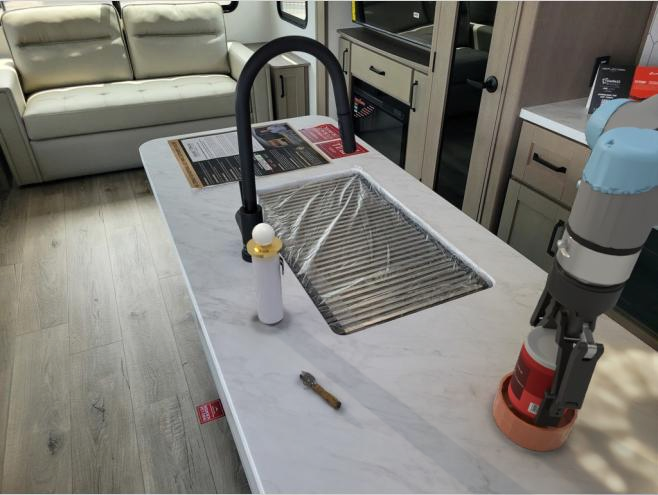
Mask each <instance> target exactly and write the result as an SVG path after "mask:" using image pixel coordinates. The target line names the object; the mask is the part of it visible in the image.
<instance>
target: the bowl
mask: <svg viewBox="0 0 658 495" xmlns="http://www.w3.org/2000/svg"><path fill="white" fill-rule="evenodd" d="M513 372H514V370H512V371H510V372H509V373H507V374H505V375H504V376H503V378H502V379H501V380H500V381H499V384H498V388H497V390H496V394H495V397H494V399H493V400H494V401H493V405H492V414H493V420H494V422H495V424H496V425H497V427H498V428H499V430H500V431H501V433H503V435H505V437H507V438H508V439H509V440H511V441H512V442H513V443H515V444H517V445H519V446H520V447H523V448H525V449H528V450H532V451H537V452H548V451H553V450H556V449H558V448H560V447H561V446H563V444H565V442H566V441H567V438H568V437H569V435H570V433H571V431H572V429H573V427H574V425H575V423H576V422H577V419H578V416H579V414H578V413H579V410H577V409H567V411H566V413H565V414H564V415H563V416H562V417H561V418H560V421H559V423H558V425H557V427H549V426H540V425H535V422H534V420H531V419H529V418H527V417H525V416H523V415H522V414H520V413H519V412H518V411H517V410H516V409H515V408H514V407H513V405H512V404H511V402H510V399H509V394H508V387H509V384H510V381H511V378H512V375H513Z"/></svg>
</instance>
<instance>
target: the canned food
mask: <svg viewBox="0 0 658 495" xmlns="http://www.w3.org/2000/svg"><path fill="white" fill-rule="evenodd" d="M556 332H557V329H547V328H542V326H538V327H535V328H534V327H533V328H531V329H530V330H529V331H528V332H527V334H526V336H525V337H524V340H523V343H522V346H521V348H520V351H519V355H518V356H517V357H518V358H517V360H516V363H515V366H514V369H513V371H514V372H513V371H512V372H513V375H512V378H511V381H510V384H509V387H508V394H509V399H510V402H511V404H512V405H513V407H514V408H515V409H516V410H517V411H518V412H519V413H520V414H522V415H523V416H525V417H527V418H529V419H531V420H534V419H535V416H536V414H537V411H538V409H539V407H540V404H541V402H542V399H543V397H544V395H545V393H544V392H545V391H546V390H547V388H548V389H551V387H552V382H553V376H554V372H555V369H556V365H555V364H556V358H557V352H558V345H557V343H556V342H555V338H556ZM564 339H573V340H580V338H579V339H574V338H566V337H564ZM567 409H568V408H566V409H565V412H564V414H565V413H566V411H567ZM564 414H563V415H564Z"/></svg>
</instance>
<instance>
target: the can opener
mask: <svg viewBox="0 0 658 495" xmlns="http://www.w3.org/2000/svg"><path fill="white" fill-rule="evenodd" d="M299 379H300V380H302V385H303V386H305V387H311V388H312V389H313V390H314V391H315V392H316V393H317V394H319V395H320V396H321V397H322V398H323V399H324V400H325V401H326V402H328V403H329V404H330V405H331V406H333V407H335V408H336V409H339V408H341V406H342V402H341V400H339V399H338V398H337V397H335V396H334V395H333V394H332V393H330V392H329V391H327V390H326V389H324V387H322V386H321V385H320V384H318V383H316V377H315V376H314V375H313V374H311V373H310V372H308V371H304V370H301V373H300V374H299ZM304 381H305V382H306V383H305V382H304Z"/></svg>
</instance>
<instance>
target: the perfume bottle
mask: <svg viewBox="0 0 658 495" xmlns="http://www.w3.org/2000/svg"><path fill="white" fill-rule="evenodd" d="M251 235H252V236H251V237H252V238H251V239H249V240H248V241H247V243H246V250H247V253H248V254H249V255H250V256H251V264H252V273H253V281H254V290H255V298H256V308H257V315H258V320H259V321H260V322H262V323H263V324H269V325H272V324H277V323H279V322H280V321H281V320H282V319H283V318H284V314H285V313H284V301H283V286H282V276H284V275H285V265H284V264H285V263H284V258H283V257H282V256H281V255H280V253H281V252H282V251H283V241H282V239H280V238H279V237H277V236H276V232H275V228H273V226H272V225H271V224H269V223H266V222H261V223H258V224H257V225H255V226H254V227H253V229H252V231H251Z"/></svg>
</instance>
